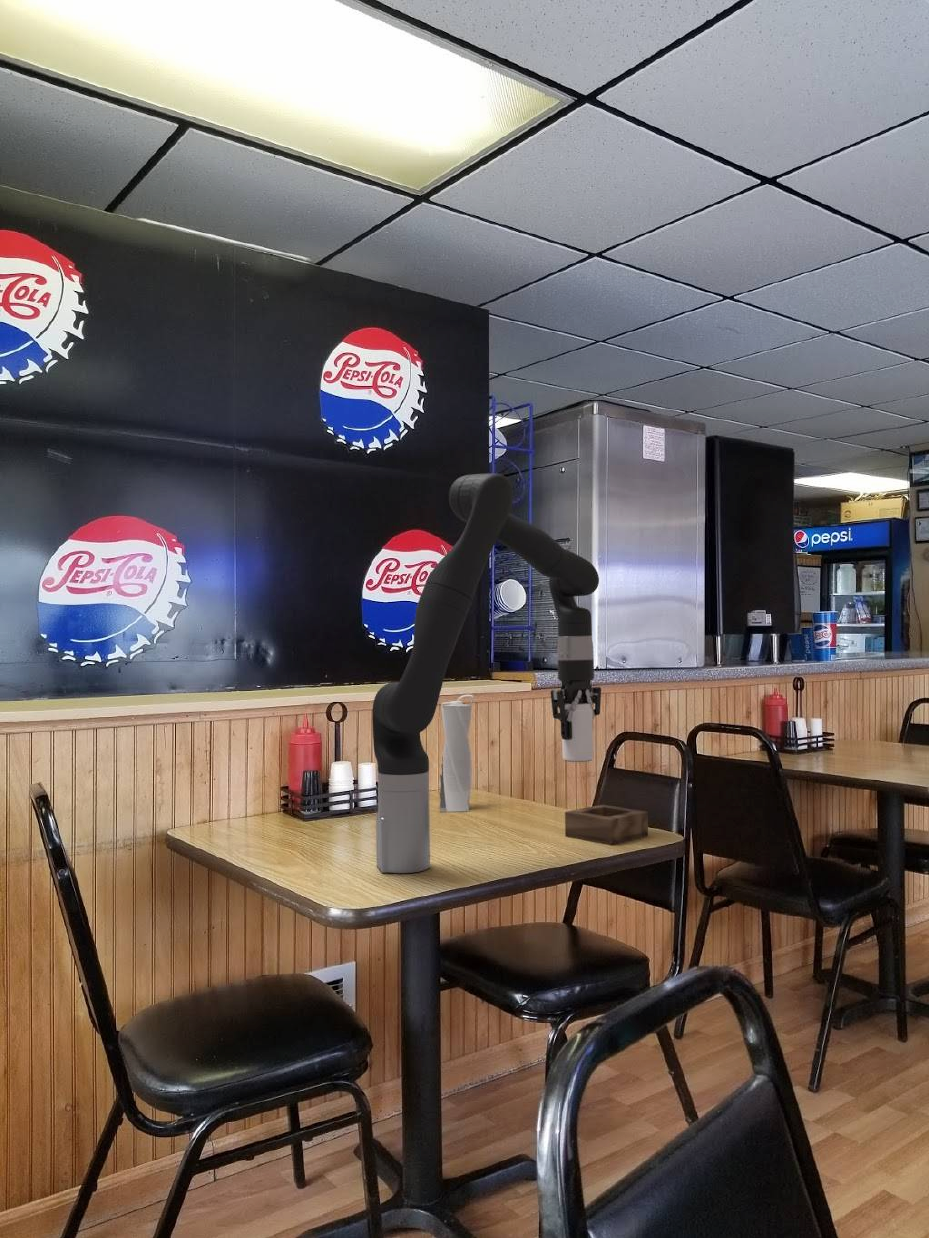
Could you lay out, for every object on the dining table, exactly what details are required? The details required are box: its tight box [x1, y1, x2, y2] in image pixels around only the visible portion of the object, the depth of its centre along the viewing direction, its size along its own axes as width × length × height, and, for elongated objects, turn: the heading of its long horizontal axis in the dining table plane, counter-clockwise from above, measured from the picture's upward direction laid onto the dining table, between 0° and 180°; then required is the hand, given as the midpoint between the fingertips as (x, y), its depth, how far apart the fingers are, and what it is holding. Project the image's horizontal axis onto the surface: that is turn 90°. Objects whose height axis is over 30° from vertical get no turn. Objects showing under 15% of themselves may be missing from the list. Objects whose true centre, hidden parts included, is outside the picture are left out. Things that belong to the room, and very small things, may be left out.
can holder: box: [564, 804, 649, 846], centre depth 192 cm, size 12×12×5 cm
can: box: [561, 702, 594, 763], centre depth 195 cm, size 6×6×12 cm
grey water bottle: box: [439, 694, 474, 814], centre depth 224 cm, size 8×8×28 cm
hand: (577, 737), depth 195 cm, fingers closed on can, 6 cm apart
